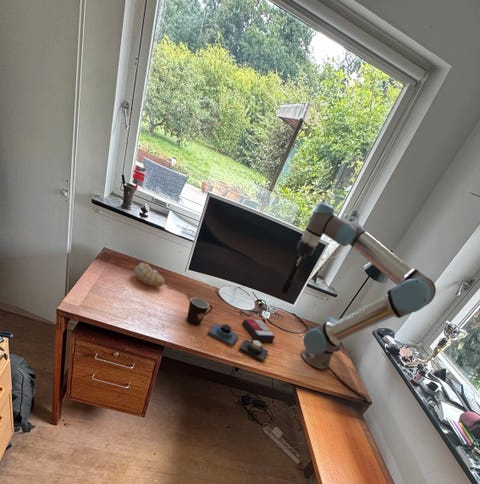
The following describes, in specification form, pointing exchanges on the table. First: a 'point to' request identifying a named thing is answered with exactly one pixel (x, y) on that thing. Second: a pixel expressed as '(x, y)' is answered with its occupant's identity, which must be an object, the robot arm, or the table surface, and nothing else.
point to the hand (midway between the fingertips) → (283, 292)
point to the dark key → (226, 328)
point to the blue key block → (223, 335)
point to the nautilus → (148, 275)
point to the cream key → (256, 344)
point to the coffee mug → (197, 310)
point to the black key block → (253, 351)
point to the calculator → (258, 330)
